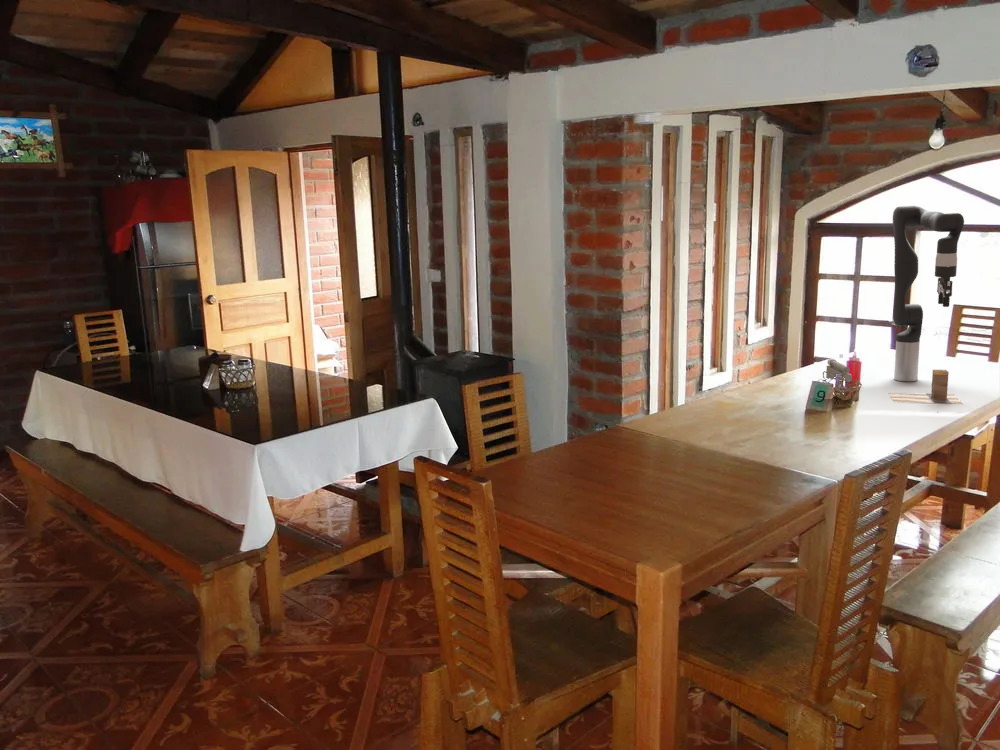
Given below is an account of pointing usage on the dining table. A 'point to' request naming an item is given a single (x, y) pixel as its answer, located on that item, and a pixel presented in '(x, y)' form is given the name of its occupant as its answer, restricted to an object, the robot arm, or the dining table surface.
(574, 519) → the dining table surface
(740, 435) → the dining table surface
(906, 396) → the subfloor panel
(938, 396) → the walnut block
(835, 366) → the geiger counter
